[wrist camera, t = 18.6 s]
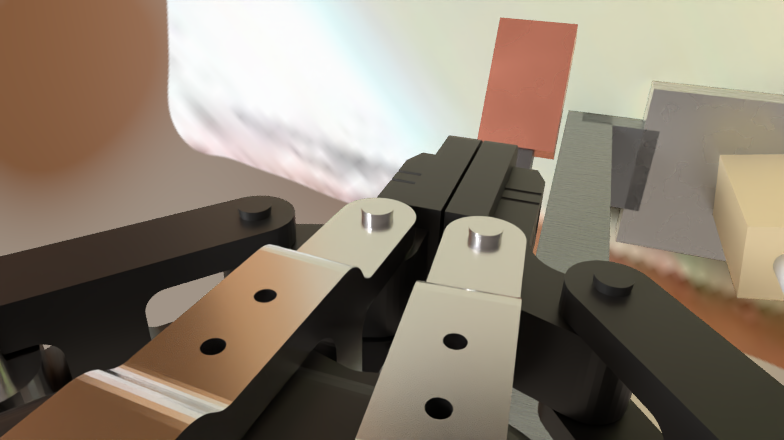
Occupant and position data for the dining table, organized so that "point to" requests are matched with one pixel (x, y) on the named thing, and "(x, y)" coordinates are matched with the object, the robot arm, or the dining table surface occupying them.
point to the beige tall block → (752, 223)
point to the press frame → (647, 182)
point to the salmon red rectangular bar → (528, 86)
